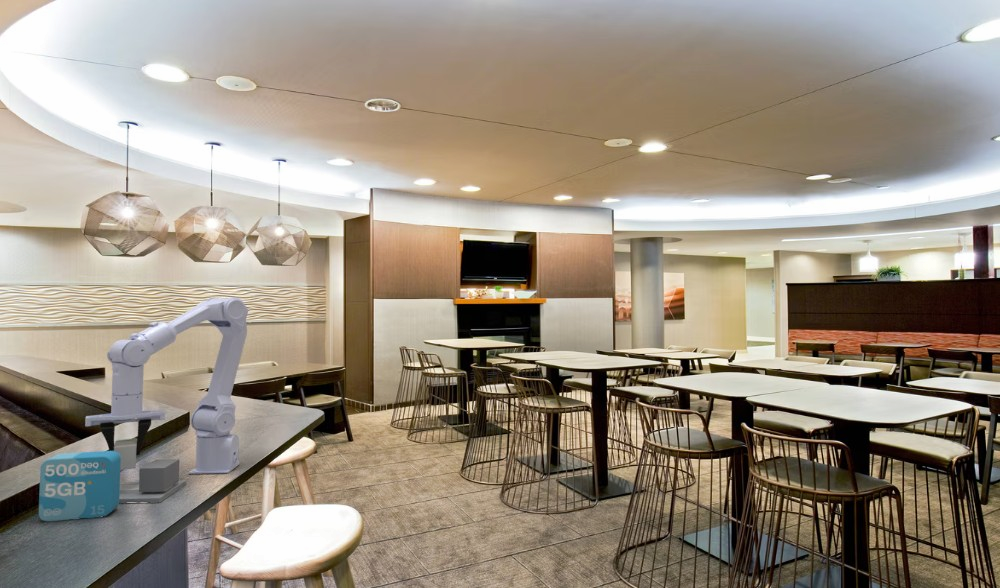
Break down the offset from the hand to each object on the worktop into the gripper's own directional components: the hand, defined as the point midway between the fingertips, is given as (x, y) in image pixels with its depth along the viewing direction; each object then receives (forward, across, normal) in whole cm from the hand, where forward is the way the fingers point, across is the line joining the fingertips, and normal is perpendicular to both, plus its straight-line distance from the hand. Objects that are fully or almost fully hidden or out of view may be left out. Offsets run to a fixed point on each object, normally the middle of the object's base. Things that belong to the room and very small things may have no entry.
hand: (125, 455), depth 120 cm
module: (+2, 0, 0) cm, 2 cm away
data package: (+9, +7, +10) cm, 15 cm away
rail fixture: (+8, 0, +1) cm, 8 cm away
